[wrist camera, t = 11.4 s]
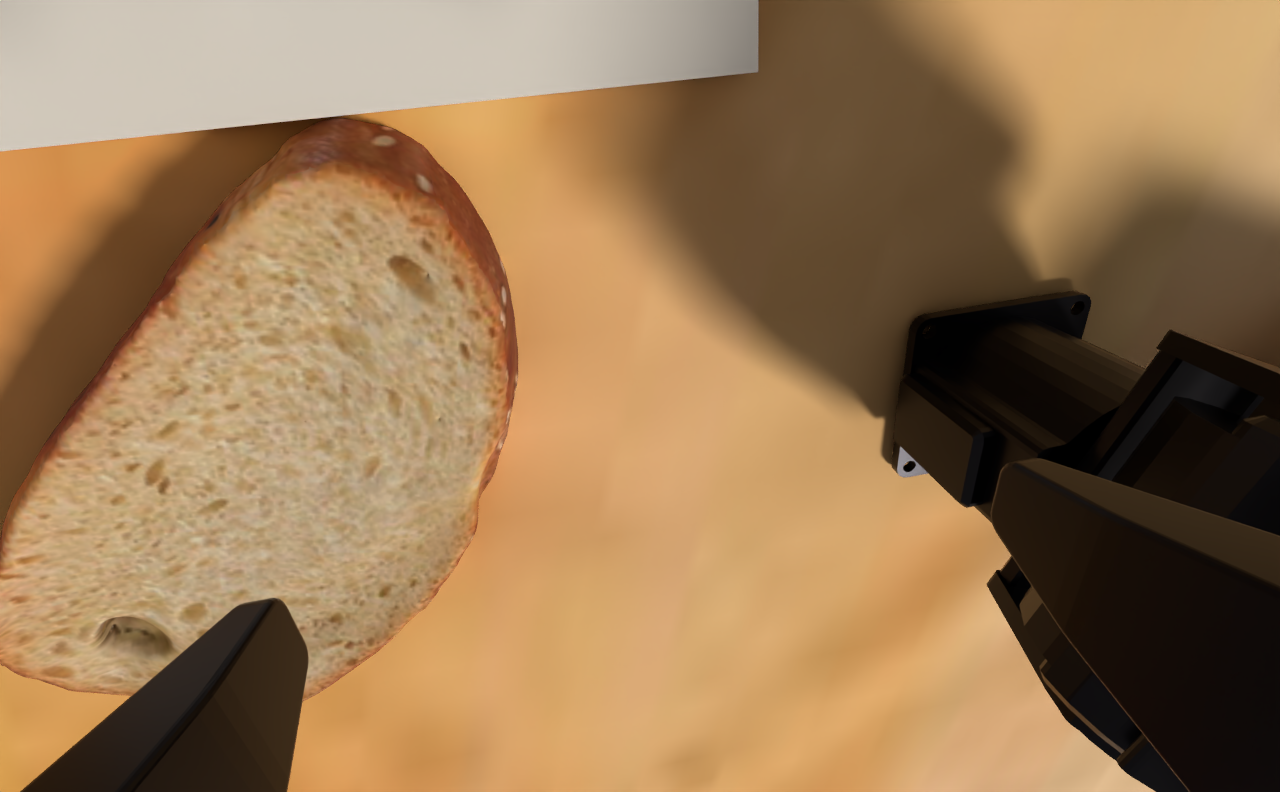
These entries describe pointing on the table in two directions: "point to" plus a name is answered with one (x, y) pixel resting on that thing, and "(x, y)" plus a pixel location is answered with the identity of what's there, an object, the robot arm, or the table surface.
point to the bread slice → (275, 426)
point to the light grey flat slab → (334, 58)
